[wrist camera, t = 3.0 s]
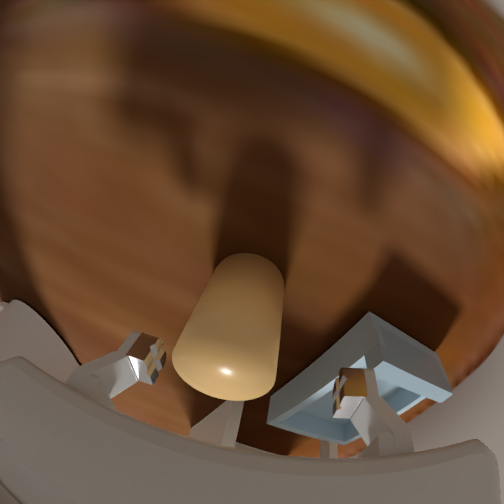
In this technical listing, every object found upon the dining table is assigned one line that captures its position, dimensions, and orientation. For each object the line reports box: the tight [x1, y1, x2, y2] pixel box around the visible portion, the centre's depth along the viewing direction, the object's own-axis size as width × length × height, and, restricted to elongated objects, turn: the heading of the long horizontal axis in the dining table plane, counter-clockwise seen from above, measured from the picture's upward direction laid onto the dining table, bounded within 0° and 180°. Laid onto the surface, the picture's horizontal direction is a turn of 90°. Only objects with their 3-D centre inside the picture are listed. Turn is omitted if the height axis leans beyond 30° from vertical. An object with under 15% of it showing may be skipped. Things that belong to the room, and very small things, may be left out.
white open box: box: [188, 400, 337, 458], centre depth 20 cm, size 12×14×13 cm
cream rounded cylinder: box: [172, 253, 285, 401], centre depth 14 cm, size 5×5×7 cm
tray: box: [267, 311, 453, 445], centre depth 17 cm, size 12×9×4 cm
